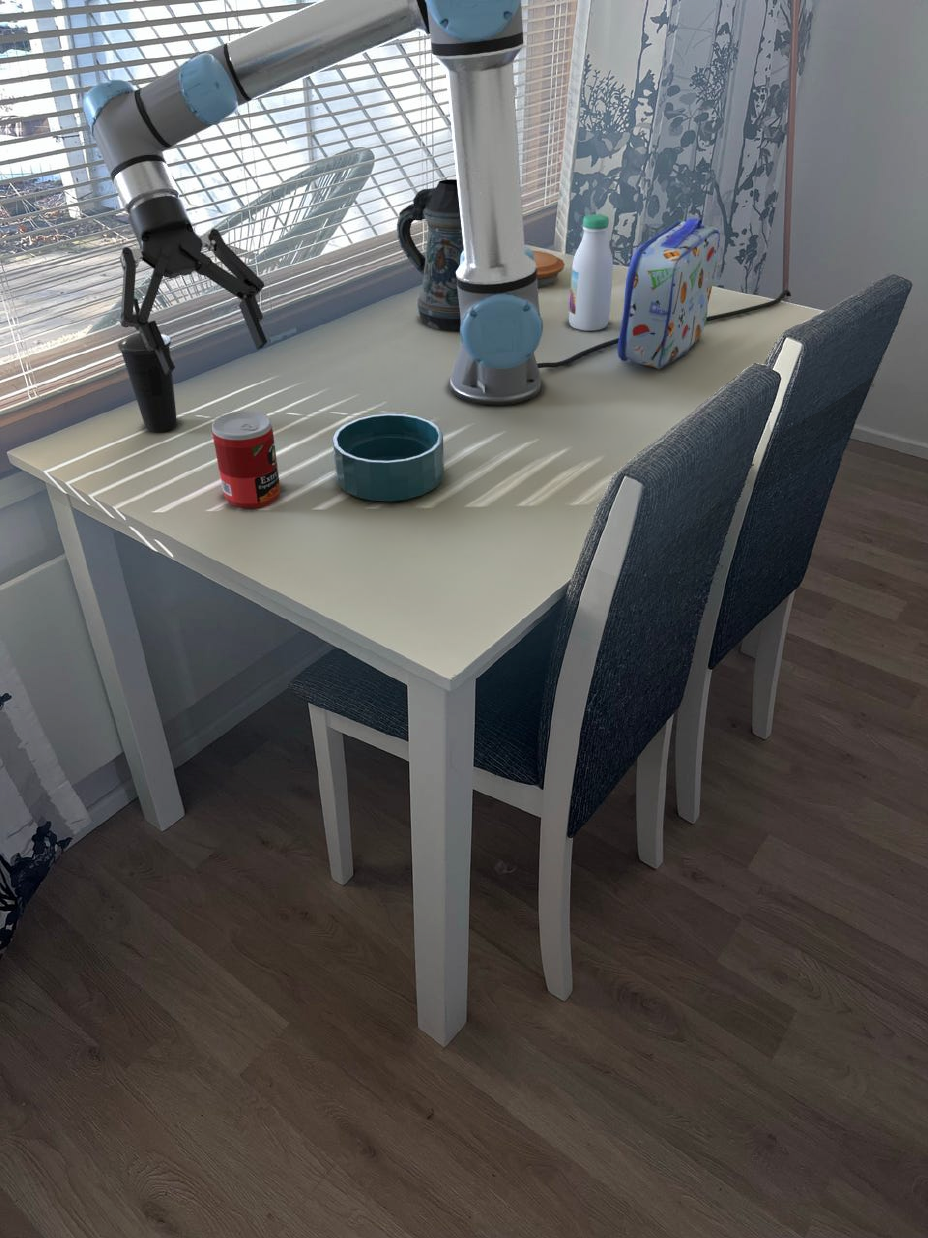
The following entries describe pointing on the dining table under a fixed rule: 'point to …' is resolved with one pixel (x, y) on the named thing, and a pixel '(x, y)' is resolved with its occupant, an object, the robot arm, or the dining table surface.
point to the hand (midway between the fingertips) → (217, 358)
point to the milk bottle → (591, 277)
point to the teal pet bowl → (388, 457)
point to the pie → (547, 267)
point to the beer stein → (436, 252)
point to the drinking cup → (149, 381)
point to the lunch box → (668, 293)
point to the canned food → (246, 458)
